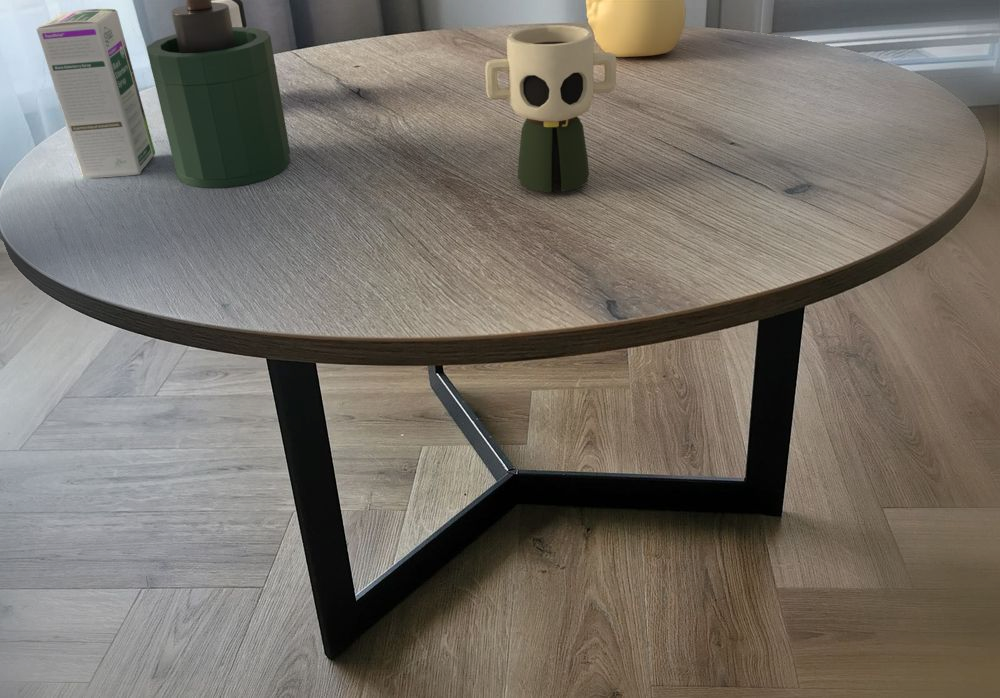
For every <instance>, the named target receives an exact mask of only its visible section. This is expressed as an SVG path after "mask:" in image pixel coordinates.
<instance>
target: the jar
mask: <svg viewBox="0 0 1000 698" xmlns="http://www.w3.org/2000/svg"><path fill="white" fill-rule="evenodd" d="M232 28H233V34H234V39H235V44H236V47H234V48H230V49H225V50H219V51H212V52H204V53H180V52H179V48H178V43H177V38H176V34H172V35H168V36H165V37H163V38H160V39H157V40H154V41H153V42H152V43H150V44H149V45H147V46H146V50H147V55H148V61H149V65H150V68H151V72H152V76H153V80H154V84H155V89H156V93H157V98H158V102H159V107H160V110H161V114H162V118H163V123H164V127H165V131H166V135H167V139H168V142H169V148H170V152H171V156H172V160H173V161H172V162H173V165H174V168H175V172H176V176H177V178H178V180H179V181H180V182H182V183H183V184H186V185H188V186H191V185H192V187H196V186H197V187H196V188H205V187H206V189H207V188H209V189H220V188H222V189H223V188H233V187H239V186H244V185H250V184H255V183H258V182H261V181H265V180H267V179H270V178H272V177H275V176H277V175H278V174H281V173H282V172H283V171H285V170H286V169H288V167H289V166H290V164H291V161H292V159H291V149H290V143H289V137H288V131H287V124H286V120H285V114H284V113H285V112H284V107H283V102H282V97H281V96H282V95H281V90H280V84H279V78H278V72H277V67H276V62H275V56H274V49H273V44H272V43H273V42H272V38H271V35H270V33H269V32H268V31H267V30H263V29H261V28H257V27H247V28H245V27H232Z"/></svg>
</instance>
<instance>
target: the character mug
mask: <svg viewBox="0 0 1000 698" xmlns="http://www.w3.org/2000/svg"><path fill="white" fill-rule="evenodd" d="M594 40H595V38H594V33H593V30H590V29H589V28H586V27H582V26H579V25H578V26H577V25H567V24H545V25H537V26H530V27H529V26H528V27H524V28H521V29H516V30H514V31H512V32H510V33H509V35H508V36H507V37H506V55H507V56H506V57H507V58H498V59H496V58H495V59H490V60H488V61H486V63H485V66H484V74H485V76H484V77H485V92H486V95H487V98H488V99H490V100H495V101H496V100H508V101H509V105H510V107H511V109H512V111H513V112H514V114H516V115H517V116H519V117H522V118H524V119H525V121H524V123H523V125H522V128H521V132H520V140H519V141H520V142H519V143H520V144H519V151H518V164H517V179H518V182H519V183H520V185H521V186H522V188H523V187H524V188H526V189H529V190H531V191H535V192H541V193H542V192H543V193H552V183H553V184H558V183H560V185H561V186H560V187H561V192H567V191H568V192H569V191H571V190H575V189H578V188H580V187H582V186H584V185H585V184H586V183H588V181H589V176H590V168H589V158H588V149H587V143H586V137H585V131H584V125H583V123H582V121H581V118H579V116H582V115H583V114H586V113H587V112H589V111H590V109H591V106H592V104H593V101H594V98H595V96H594V94H603V93H604V94H605V93H611V92H613V91H615V89H616V86H617V57H615V54H613V53H605V52H594V45H595V43H594V42H595V41H594ZM602 65H603V66H604V79H603V80H601V81H594V66H602ZM498 72H507V77H508V86H507V87H499V85H498V83H499V82H498Z"/></svg>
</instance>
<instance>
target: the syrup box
mask: <svg viewBox="0 0 1000 698" xmlns="http://www.w3.org/2000/svg"><path fill="white" fill-rule="evenodd" d="M35 30H36V32H37V35H38V39H39V41H40V45H41V48H42V52H43V54H44V58H45V61H46V65H47V68H48V71H49V74H50V78H51V80H52V84H53V87H54V90H55V93H56V96H57V100H58V104H59V107H60V109H61V112H62V117H63V120H64V122H65V124H66V125H65V126H66V129H67V132H68V136H69V138H70V141H71V145H72V148H73V152H74V154H75V157H76V160H77V163H78V167H79V170H80V174H81V176H82V177H83V178H85V179H86V178H87V179H89V178H90V179H91V178H92V179H94V178H96V179H97V178H98V179H99V178H100V179H101V178H112V177H113V178H115V177H125V176H127V177H128V176H135V175H137V176H138V175H140V174H142V170H143V169H145V167H146V166H147V165H148V164H149V162H150V161H151V160H152V158H153V157H154V156H155V154H156V150H155V147H154V143H153V139H152V136H151V133H150V128H149V125H148V121H147V117H146V113H145V110H144V105H143V102H142V97H141V95H140V91H139V87H138V84H137V80H136V76H135V72H134V68H133V65H132V61H131V57H130V54H129V50H128V46H127V43H126V39H125V36H124V32H123V28H122V24H121V21H120V18H119V14H118V11H117V10H116V9H113V8H89V9H81V10H80V9H79V10H73V11H67V12H61V13H60V12H59V13H57V14H56V16H55V17H53V18H52V19H50V20H48V21H47V22H45V23H44V24H41V25H39V26H38V27H37V28H36V29H35Z"/></svg>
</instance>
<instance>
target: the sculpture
mask: <svg viewBox="0 0 1000 698" xmlns="http://www.w3.org/2000/svg"><path fill="white" fill-rule="evenodd" d="M585 5H586V17H587V19H588V25H589V26H590V27H591V31H592V32H593V37H594V40H595V42H596V43H597V45H598V46H599V47H600V49H601V50H602V51H603V53H613V54H615V57H616V58H630V57H631V58H632V57H648V56H650V57H651V56H657V55H663V54H667V53H669V52H670V51H673V49H674V48H675V47H676V46H677V44H678V43H679V40H680V38H681V36H682V34H683V31H684V28H685V23H686V15H687V12H686V10H687V9H686V8H687V7H686V2H685V0H585Z"/></svg>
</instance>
